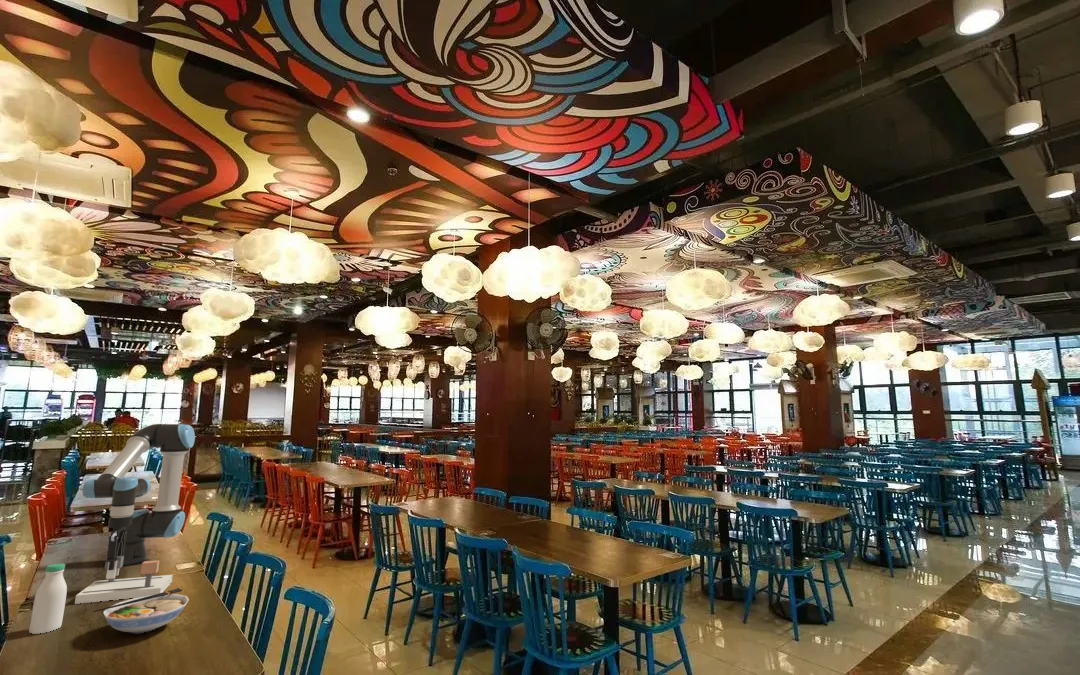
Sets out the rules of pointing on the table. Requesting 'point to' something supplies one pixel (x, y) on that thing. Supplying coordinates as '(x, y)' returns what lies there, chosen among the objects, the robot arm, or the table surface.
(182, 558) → the table surface
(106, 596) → the fader panel
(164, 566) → the table surface
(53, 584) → the milk bottle
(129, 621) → the ramen bowl
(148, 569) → the fader
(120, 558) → the fader
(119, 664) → the table surface
